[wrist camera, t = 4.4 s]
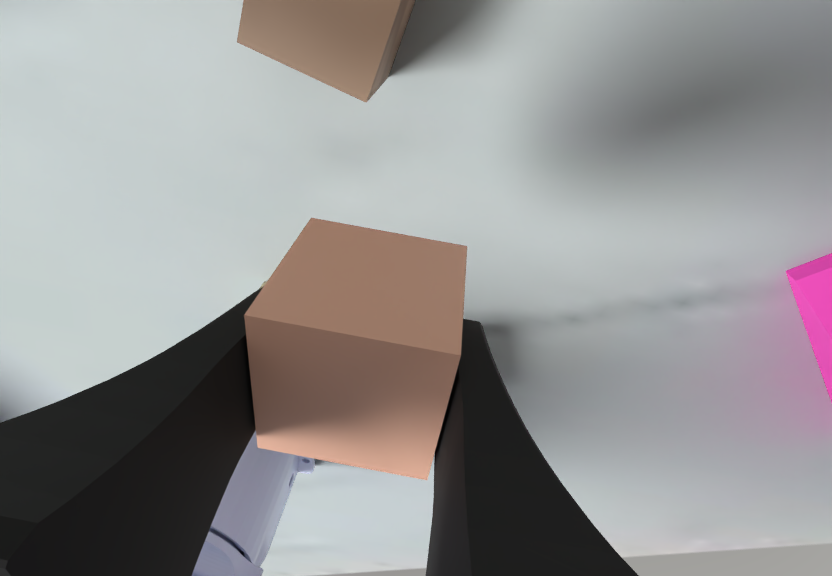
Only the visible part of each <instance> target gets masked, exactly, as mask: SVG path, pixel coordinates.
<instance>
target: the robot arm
mask: <svg viewBox="0 0 832 576" xmlns="http://www.w3.org/2000/svg"><path fill="white" fill-rule="evenodd" d="M263 287H264V286H263ZM263 287H262V288H263ZM262 288H260V289H259V290H257V291H256V292H254V293H253V294H251V295H250V296H248V297H247V298H246V299H244V300H243V301H241V302H240V303H239V304H237V305H236V306H234V307H233V308H231V309H230V310H228V311H227V312H226V313H224V314H223V315H221V316H220V317H218V318H217V319H215V320H214V321H212V322H211V323H209V324H208V325H206V326H205V327H203V328H202V329H200V330H199V331H197V332H195V333H194V334H192V335H190V336H189V337H187V338H185V339H184V340H182V341H180V342H179V343H177V344H176V345H174V346H172V347H171V348H169V349H167V350H166V351H164V352H162V353H160V354H158V355H157V356H155V357H153V358H151V359H149V360H147V361H146V362H144V363H142V364H140V365H138V366H136V367H134V368H132V369H130V370H128V371H126V372H124V373H122V374H120V375H118V376H116V377H113V378H111V379H109V380H107V381H105V382H102V383H100V384H98V385H95V386H93V387H91V388H89V389H86V390H84V391H82V392H79V393H77V394H75V395H72V396H70V397H68V398H65V399H63V400H61V401H58V402H56V403H53V404H51V405H48V406H45V407H43V408H40V409H37V410H35V411H32V412H30V413H27V414H24V415H21V416H19V417H16V418H13V419H10V420H7V421H4V422H2V423H0V576H261V575H262V573H263V569H262V568H260V566H261V564H262V563H263V561H264V559H265V557H266V555H267V553H268V551H269V548H270V545H271V543H272V540H273V537H274V535H275V532H276V529H277V526H278V524H279V521H280V518H281V516H282V513H283V510H284V507H285V505H286V502H287V499H288V496H289V494H290V491H291V488H292V486H293V483H294V480H295V477H296V475H297V472H301V473H307V474H309V473H312V472H313V470H314V467H315V459H314V458H309V457H303V456H298V455H293V454H288V453H282V452H277V451H272V450H267V449H262V448H258V447H257V437H256V427H255V417H254V407H253V397H252V387H251V378H250V368H249V358H248V348H247V338H246V328H245V318H244V315H245V313H246V312H247V310H248V309H249V307H250V306H251V304H252V303H253V302H254V300H255V299H256V297H257V296H258V294H259V293H260V291H261V290H262ZM426 576H638V575H637V573H635V571H634V570H633V569H632V568H631V567H630V566H629V565H628V564H627V563H626V562H625V561H624V560H623V559H622V558H621V557H620V555H619V554H618V553H617V552H616V551H615V550H614V549H613V548H612V546H611V545H610V544H609V543H608V542H607V540H606V539H605V538H604V537H603V536H602V535H601V533H600V532H599V531H598V530H597V529H596V527H595V526H594V525H593V524H592V523H591V521H590V520H589V519H588V517H587V516H586V515H585V513H584V512H583V511H582V509H581V508H580V507H579V505H578V504H577V503H576V502H575V500H574V499H573V498H572V496H571V495H570V494H569V492H568V491H567V490H566V488H565V487H564V486H563V485H562V483H561V482H560V480H559V479H558V477H557V476H556V474H555V473H554V471H553V470H552V469H551V467H550V466H549V464H548V463H547V461H546V460H545V458H544V456H543V455H542V453H541V452H540V450H539V448H538V447H537V445H536V444H535V442H534V440H533V439H532V437H531V435H530V434H529V432H528V430H527V428H526V427H525V425H524V423H523V421H522V419H521V417H520V415H519V414H518V412H517V410H516V408H515V406H514V404H513V402H512V400H511V398H510V396H509V394H508V392H507V389H506V387H505V385H504V383H503V381H502V378H501V376H500V374H499V372H498V369H497V367H496V364H495V362H494V359H493V357H492V354H491V351H490V348H489V346H488V343H487V340H486V337H485V333H484V330H483V326H482V325H481V323H480V322H477V321H472V320H466V319H463V327H462V345H461V357H460V361H459V364H458V368H457V372H456V375H455V379H454V383H453V386H452V390H451V394H450V398H449V401H448V405H447V409H446V412H445V416H444V420H443V423H442V427H441V431H440V435H439V438H438V442H437V446H436V449H435V463H434V502H433V517H432V526H431V535H430V544H429V553H428V561H427V570H426Z"/></svg>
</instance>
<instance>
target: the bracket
mask: <svg viewBox="0 0 832 576" xmlns="http://www.w3.org/2000/svg"><path fill="white" fill-rule="evenodd" d="M786 274H787V276H788V279H789V282H790V285H791V288H792V291H793V294H794V296H795V299H796V302H797V305H798V308H799V311H800V314H801V316H802V319H803V322H804V325H805V328H806V331H807V334H808V336H809V339H810V342H811V345H812V348H813V351H814V354H815V356H816V359H817V362H818V365H819V368H820V371H821V374H822V376H823V379H824V382H825V385H826V388H827V391H828V394H829V396H830V399H831V402H832V253H831V254H829V255H826V256H823V257H821V258H818V259H816V260H813V261H810V262H808V263H805V264H803V265H800V266H798V267H795V268H792V269H790V270H787V271H786Z"/></svg>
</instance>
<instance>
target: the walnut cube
mask: <svg viewBox="0 0 832 576" xmlns="http://www.w3.org/2000/svg"><path fill="white" fill-rule="evenodd" d="M415 1H416V0H244V1H243V8H242V14H241V20H240V26H239V32H238V38H237V42H238V43H240V44H242V45H244V46H246V47H248V48H251V49H253V50H255V51H257V52H259V53H261V54H263V55H266V56H268V57H270V58H272V59H274V60H276V61H278V62H280V63H283V64H285V65H287V66H289V67H291V68H293V69H295V70H298V71H300V72H302V73H304V74H306V75H308V76H310V77H312V78H315V79H317V80H319V81H321V82H323V83H325V84H327V85H330V86H332V87H334V88H336V89H338V90H340V91H342V92H345V93H347V94H349V95H351V96H353V97H355V98H357V99H359V100H362V101H364V102H367V101H368V100H369V99H370V98H371V97H372V95H373V94H374V93H375V92H376V91H377V90H378V88H379V87H380V86H381V85H382V84H383V83H384V82H385V80H386V79H387V78H388V76H389V74H390V71H391V68H392V65H393V62H394V60H395V57H396V54H397V51H398V48H399V46H400V43H401V40H402V37H403V34H404V32H405V29H406V26H407V23H408V20H409V17H410V15H411V12H412V9H413V6H414V3H415Z"/></svg>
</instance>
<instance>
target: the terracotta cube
mask: <svg viewBox="0 0 832 576" xmlns="http://www.w3.org/2000/svg"><path fill="white" fill-rule="evenodd" d="M466 257H467V246H463V245H457V244H452V243H446V242H441V241H436V240H430V239H425V238H419V237H414V236H408V235H403V234H397V233H392V232H386V231H381V230H375V229H370V228H364V227H359V226H353V225H348V224H342V223H337V222H331V221H326V220H320V219H315V218H311V219H310V220H309V222H308V223H307V225H306V226H305V228H304V229H303V230H302V232H301V233H300V235H299V236H298V238H297V239H296V241H295V242H294V243H293V245H292V246H291V248H290V249H289V251H288V252H287V254H286V255H285V257H284V258H283V259H282V261H281V262H280V264H279V265H278V267H277V268H276V270H275V271H274V272H273V274H272V275H271V277H270V278H269V280H268V281H267V283H266V284H265V286H264V287H263V288H262V290H261V291H260V293H259V294H258V296H257V297H256V299H255V300H254V302H253V303H252V304H251V306H250V307H249V309H248V310H247V312H246V313H245V315H244V318H245V328H246V338H247V348H248V358H249V368H250V378H251V387H252V397H253V407H254V417H255V427H256V437H257V447H258V448H262V449H267V450H272V451H277V452H282V453H288V454H293V455H298V456H303V457H309V458H314V459H319V460H324V461H329V462H335V463H340V464H345V465H350V466H355V467H361V468H366V469H371V470H376V471H382V472H387V473H392V474H397V475H402V476H408V477H413V478H418V479H423V480H427V479H428V475H429V471H430V468H431V464H432V460H433V457H434V453H435V449H436V446H437V442H438V438H439V435H440V431H441V427H442V423H443V420H444V416H445V412H446V409H447V405H448V401H449V398H450V394H451V390H452V386H453V383H454V379H455V375H456V372H457V368H458V364H459V361H460V357H461V345H462V327H463V310H464V292H465V275H466Z"/></svg>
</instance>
